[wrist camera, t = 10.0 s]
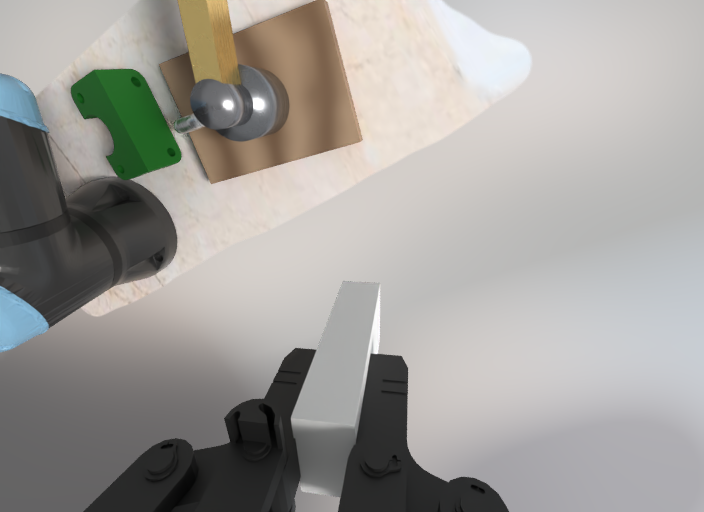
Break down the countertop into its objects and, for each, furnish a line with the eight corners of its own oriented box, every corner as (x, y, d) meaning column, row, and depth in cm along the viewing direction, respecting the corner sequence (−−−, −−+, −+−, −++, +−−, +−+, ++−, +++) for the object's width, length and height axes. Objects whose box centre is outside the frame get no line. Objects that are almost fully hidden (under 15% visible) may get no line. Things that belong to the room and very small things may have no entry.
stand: (219, 180, 46) (211, 184, 44) (170, 65, 40) (158, 64, 39) (362, 139, 40) (360, 141, 39) (327, 2, 35) (323, -3, 34)
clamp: (144, 100, 47) (64, 73, 39) (171, 84, 44) (91, 53, 36) (156, 186, 47) (80, 178, 39) (184, 176, 44) (107, 165, 36)
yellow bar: (256, 125, 33) (237, 128, 30) (219, 127, 34) (196, 130, 31) (220, -99, 27) (191, -129, 23) (175, -91, 27) (139, -119, 24)
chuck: (203, 155, 42) (173, 163, 37) (178, 95, 40) (141, 95, 34) (298, 126, 39) (279, 130, 34) (276, 58, 36) (253, 52, 31)
